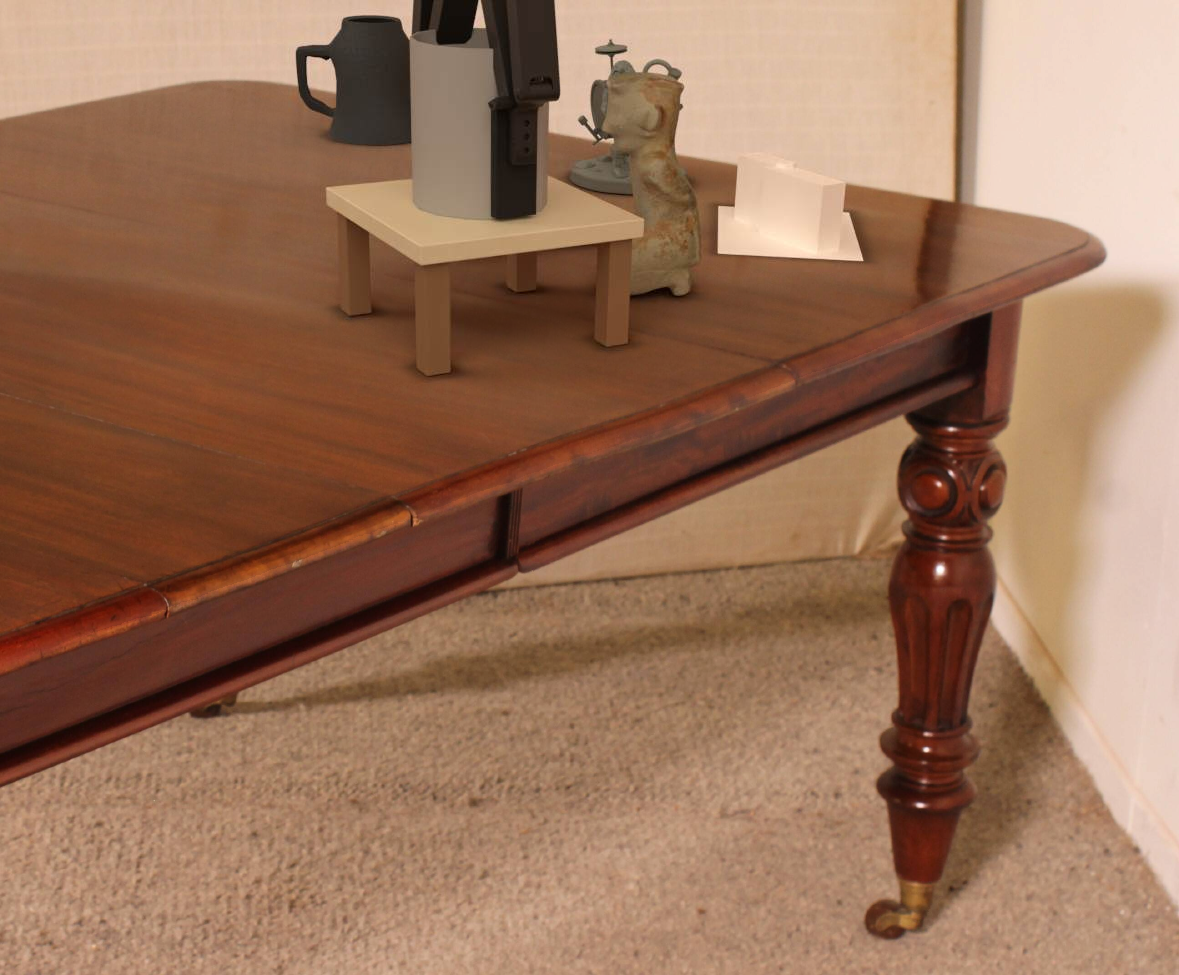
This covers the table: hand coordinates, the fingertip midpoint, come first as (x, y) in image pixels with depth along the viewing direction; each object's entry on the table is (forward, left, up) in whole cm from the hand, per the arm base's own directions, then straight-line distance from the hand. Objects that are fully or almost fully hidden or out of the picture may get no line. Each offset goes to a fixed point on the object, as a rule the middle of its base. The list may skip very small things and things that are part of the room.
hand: (481, 198), depth 94 cm
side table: (0, 0, -8) cm, 8 cm away
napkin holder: (+33, +11, -9) cm, 36 cm away
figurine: (+30, +31, -9) cm, 44 cm away
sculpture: (+14, +2, -9) cm, 17 cm away
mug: (+15, +58, -9) cm, 61 cm away
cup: (0, 0, 0) cm, 0 cm away
